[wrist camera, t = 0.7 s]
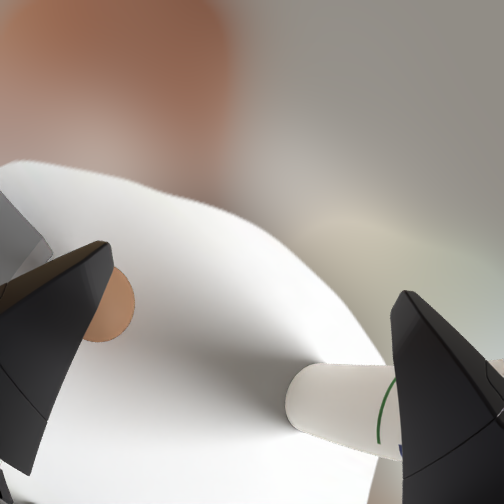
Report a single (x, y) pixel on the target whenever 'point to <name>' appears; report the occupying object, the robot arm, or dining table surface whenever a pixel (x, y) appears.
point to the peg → (112, 310)
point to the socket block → (19, 243)
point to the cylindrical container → (351, 406)
